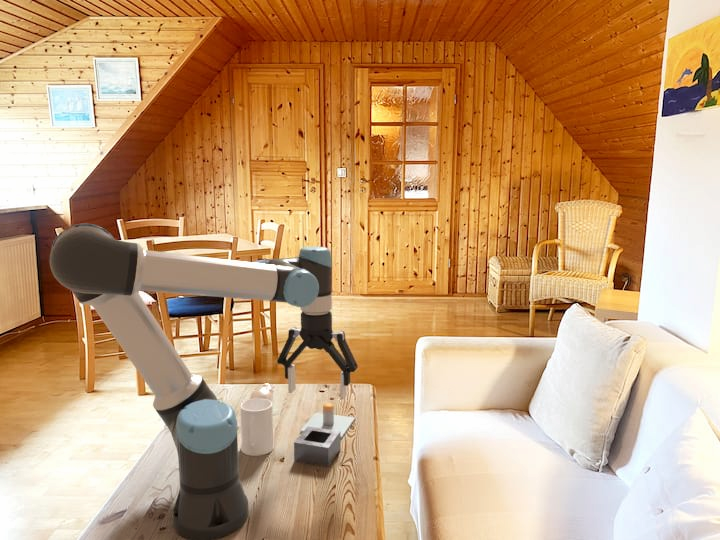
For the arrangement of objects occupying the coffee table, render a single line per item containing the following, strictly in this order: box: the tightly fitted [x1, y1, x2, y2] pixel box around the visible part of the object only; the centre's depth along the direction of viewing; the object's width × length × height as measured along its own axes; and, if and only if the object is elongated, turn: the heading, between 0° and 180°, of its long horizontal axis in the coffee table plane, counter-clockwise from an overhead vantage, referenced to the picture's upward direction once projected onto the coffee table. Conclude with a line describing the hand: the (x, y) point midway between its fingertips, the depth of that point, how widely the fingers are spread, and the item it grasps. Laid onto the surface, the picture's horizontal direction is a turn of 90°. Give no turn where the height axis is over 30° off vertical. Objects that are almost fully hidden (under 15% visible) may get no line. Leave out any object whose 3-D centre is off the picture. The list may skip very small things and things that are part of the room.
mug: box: [239, 398, 275, 457], centre depth 139 cm, size 12×8×12 cm
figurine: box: [249, 382, 275, 407], centre depth 165 cm, size 11×7×15 cm
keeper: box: [300, 402, 356, 440], centre depth 153 cm, size 12×12×6 cm
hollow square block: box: [293, 427, 341, 468], centre depth 138 cm, size 9×9×5 cm
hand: (317, 394), depth 135 cm, fingers open, 13 cm apart
